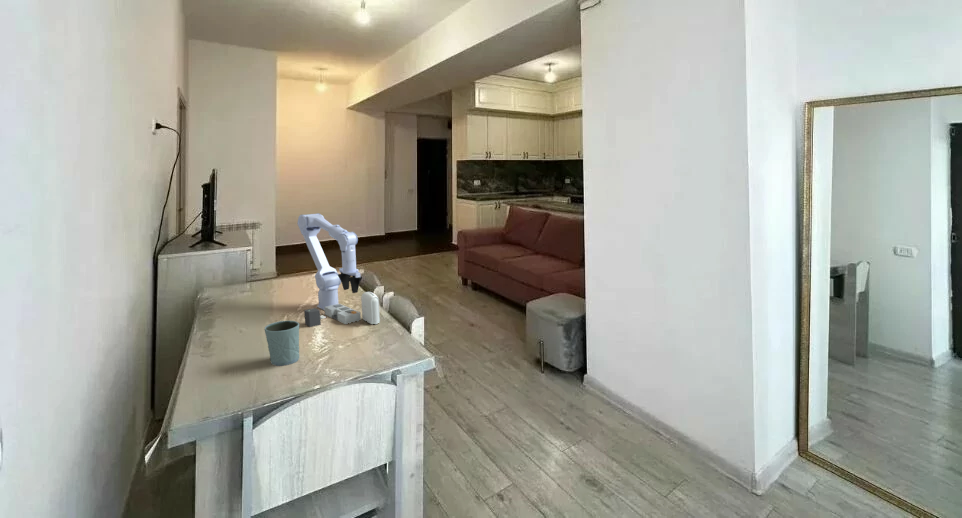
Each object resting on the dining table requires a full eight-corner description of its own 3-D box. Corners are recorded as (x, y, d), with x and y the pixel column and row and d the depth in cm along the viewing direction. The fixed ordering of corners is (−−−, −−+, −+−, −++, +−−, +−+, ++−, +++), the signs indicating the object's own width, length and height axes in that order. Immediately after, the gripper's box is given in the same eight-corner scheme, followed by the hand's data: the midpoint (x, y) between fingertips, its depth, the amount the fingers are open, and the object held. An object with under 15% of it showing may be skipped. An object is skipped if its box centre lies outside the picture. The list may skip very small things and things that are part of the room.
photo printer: (360, 319, 184) (359, 290, 182) (370, 317, 187) (369, 289, 185) (371, 325, 176) (370, 296, 174) (381, 323, 179) (380, 294, 177)
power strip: (324, 314, 190) (324, 305, 190) (339, 311, 195) (339, 302, 195) (345, 324, 178) (344, 314, 177) (360, 320, 183) (360, 311, 182)
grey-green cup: (306, 354, 148) (303, 320, 146) (294, 367, 138) (291, 330, 136) (275, 354, 148) (272, 320, 145) (262, 367, 138) (258, 331, 135)
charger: (305, 324, 178) (304, 309, 177) (322, 320, 183) (321, 306, 182) (310, 327, 175) (309, 312, 173) (327, 322, 180) (326, 308, 178)
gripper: (366, 261, 186) (367, 292, 189) (349, 257, 196) (350, 286, 199) (350, 263, 181) (352, 295, 184) (334, 259, 191) (336, 289, 194)
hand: (350, 291), depth 191 cm, fingers open, 7 cm apart
